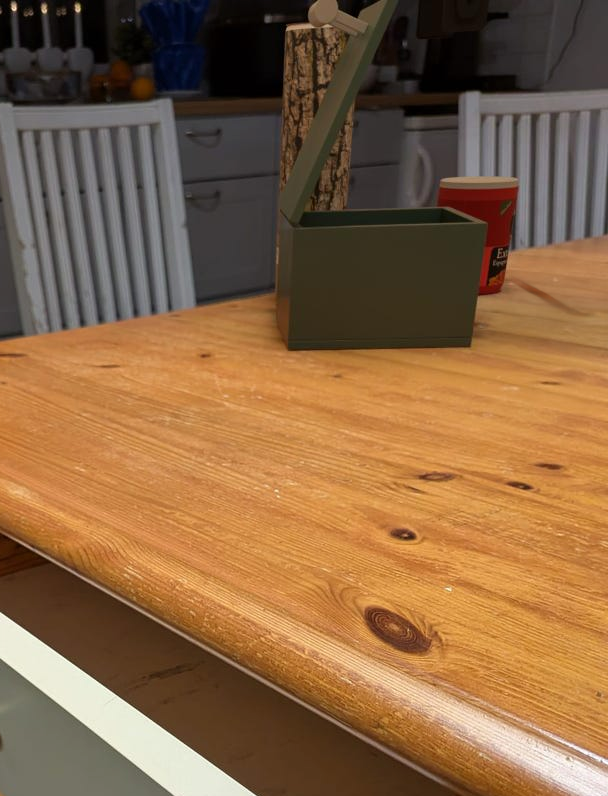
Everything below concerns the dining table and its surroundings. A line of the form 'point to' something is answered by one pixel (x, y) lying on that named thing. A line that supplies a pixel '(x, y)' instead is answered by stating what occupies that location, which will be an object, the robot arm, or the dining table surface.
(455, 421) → the dining table surface
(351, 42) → the bin lid
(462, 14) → the robot arm
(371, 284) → the bin
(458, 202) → the canned food
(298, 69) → the bark log
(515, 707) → the dining table surface
